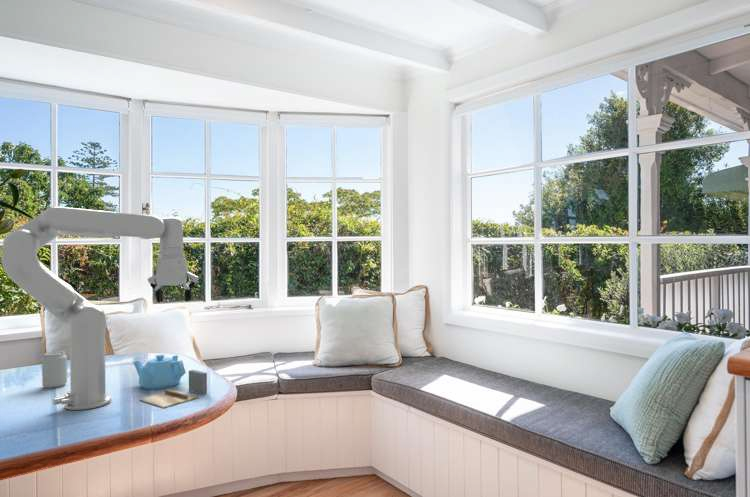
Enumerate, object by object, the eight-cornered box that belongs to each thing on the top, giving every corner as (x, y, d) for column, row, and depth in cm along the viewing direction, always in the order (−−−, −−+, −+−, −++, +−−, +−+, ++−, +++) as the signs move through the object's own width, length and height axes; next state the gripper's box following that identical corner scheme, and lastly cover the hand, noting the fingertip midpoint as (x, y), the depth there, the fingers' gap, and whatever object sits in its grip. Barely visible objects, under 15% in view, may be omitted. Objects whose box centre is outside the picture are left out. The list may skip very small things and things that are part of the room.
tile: (202, 394, 161) (202, 373, 161) (188, 391, 165) (188, 370, 165) (207, 393, 162) (206, 372, 162) (193, 389, 167) (192, 369, 167)
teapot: (139, 393, 163) (139, 362, 163) (133, 384, 175) (132, 354, 175) (186, 386, 171) (186, 356, 171) (177, 377, 184) (177, 349, 184)
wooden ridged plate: (163, 408, 147) (163, 403, 147) (139, 400, 155) (139, 395, 155) (197, 398, 157) (197, 393, 157) (173, 391, 165) (173, 386, 165)
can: (37, 387, 172) (37, 353, 172) (59, 382, 179) (59, 349, 179) (49, 389, 169) (49, 355, 169) (71, 384, 175) (71, 351, 175)
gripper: (142, 253, 165) (144, 303, 165) (193, 252, 166) (195, 301, 166) (151, 253, 173) (153, 301, 173) (200, 251, 173) (202, 299, 173)
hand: (174, 301), depth 169 cm, fingers open, 9 cm apart
